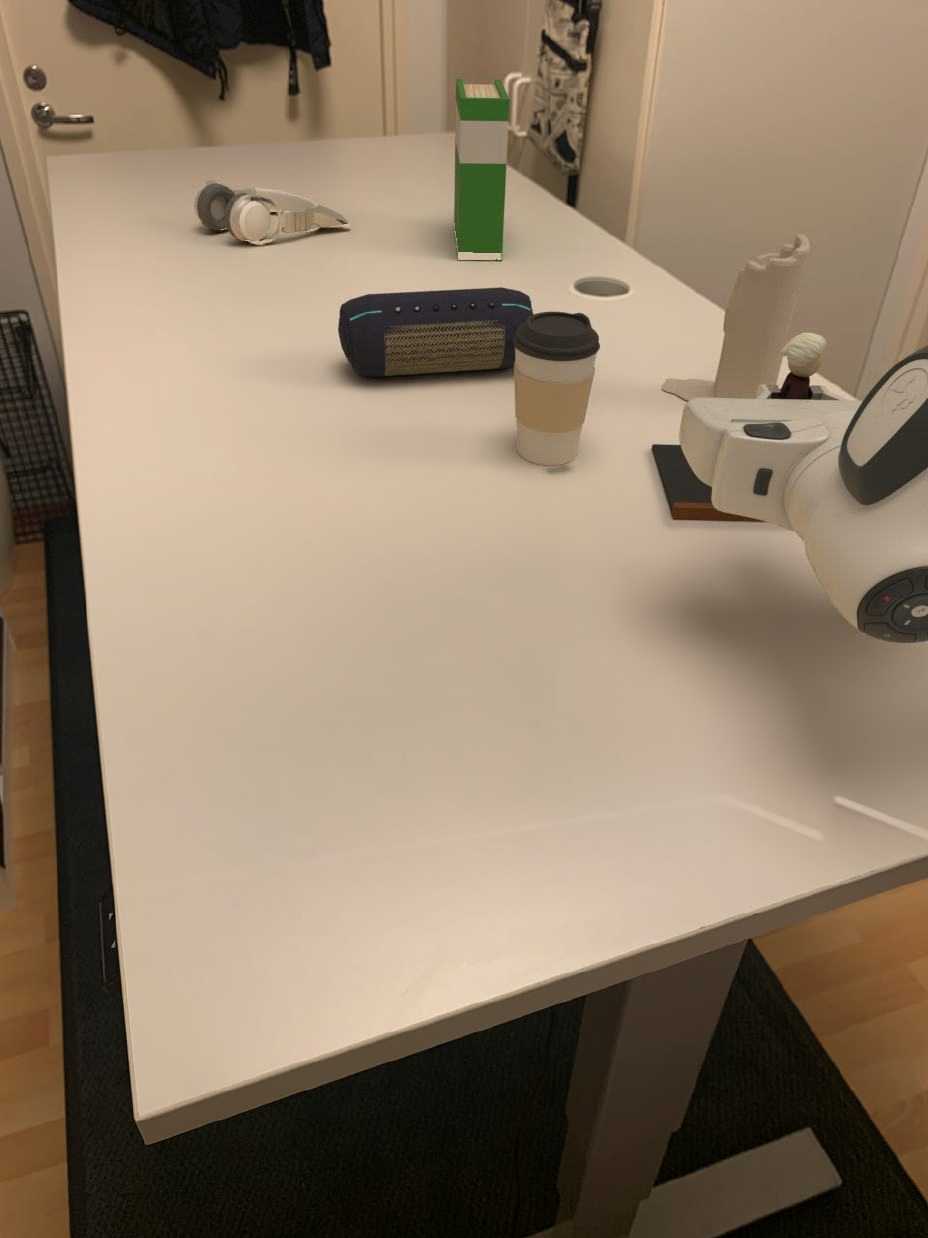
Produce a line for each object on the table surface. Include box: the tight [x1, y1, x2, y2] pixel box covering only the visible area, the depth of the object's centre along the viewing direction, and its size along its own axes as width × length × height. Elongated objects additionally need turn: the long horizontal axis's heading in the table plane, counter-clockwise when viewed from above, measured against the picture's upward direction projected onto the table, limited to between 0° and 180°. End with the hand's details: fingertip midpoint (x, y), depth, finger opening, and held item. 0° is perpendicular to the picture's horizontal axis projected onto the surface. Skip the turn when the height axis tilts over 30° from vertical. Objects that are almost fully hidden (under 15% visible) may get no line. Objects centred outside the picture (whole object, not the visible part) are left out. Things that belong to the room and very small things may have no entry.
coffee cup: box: [513, 311, 601, 466], centre depth 98 cm, size 9×9×15 cm
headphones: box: [193, 179, 350, 246], centre depth 163 cm, size 22×8×22 cm
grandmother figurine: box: [780, 332, 827, 400], centre depth 77 cm, size 8×4×13 cm, turn 170°
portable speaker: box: [337, 287, 535, 378], centre depth 116 cm, size 25×10×10 cm, turn 102°
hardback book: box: [453, 78, 511, 262], centre depth 152 cm, size 18×7×24 cm, turn 3°
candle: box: [661, 233, 811, 402], centre depth 108 cm, size 7×14×20 cm, turn 60°
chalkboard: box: [651, 443, 763, 522], centre depth 97 cm, size 16×15×1 cm
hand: (788, 392), depth 77 cm, fingers closed on grandmother figurine, 3 cm apart
